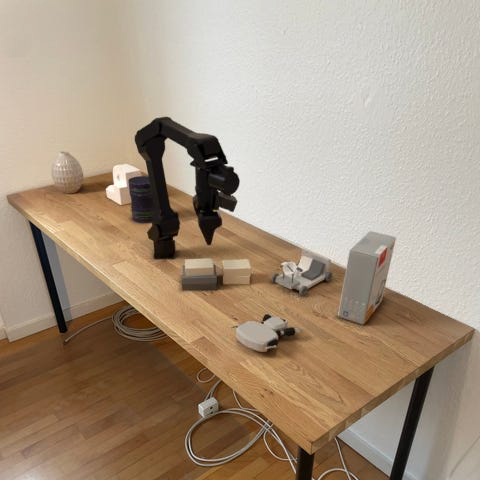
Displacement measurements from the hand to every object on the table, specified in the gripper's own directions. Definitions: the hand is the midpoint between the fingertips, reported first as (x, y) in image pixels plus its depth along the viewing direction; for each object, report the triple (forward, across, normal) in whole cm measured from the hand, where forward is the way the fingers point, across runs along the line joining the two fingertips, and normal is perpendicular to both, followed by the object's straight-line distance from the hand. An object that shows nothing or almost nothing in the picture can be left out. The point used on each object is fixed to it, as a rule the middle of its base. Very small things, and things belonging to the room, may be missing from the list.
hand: (207, 238), depth 139 cm
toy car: (+13, -7, -27) cm, 31 cm away
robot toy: (+13, -34, -10) cm, 38 cm away
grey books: (+13, -2, +3) cm, 14 cm away
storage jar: (+13, +51, +18) cm, 56 cm away
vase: (+13, +88, +50) cm, 102 cm away
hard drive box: (+13, -24, -40) cm, 48 cm away
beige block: (+13, -2, -8) cm, 16 cm away
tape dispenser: (+13, +77, +27) cm, 82 cm away
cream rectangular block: (+9, -2, +3) cm, 10 cm away
